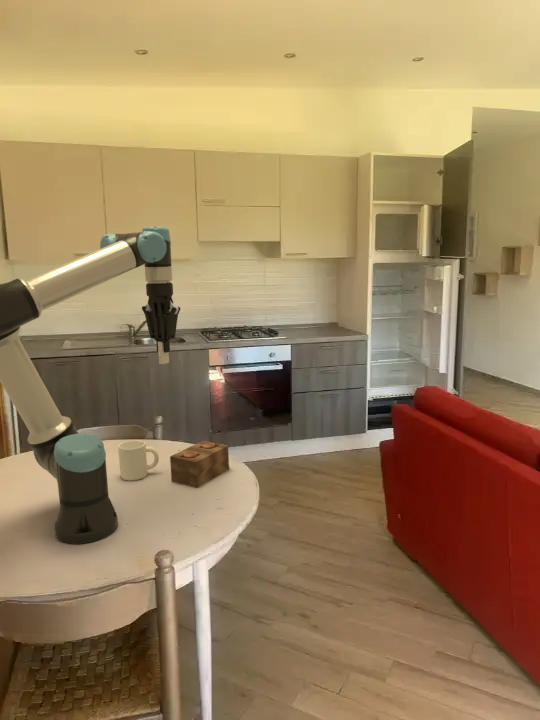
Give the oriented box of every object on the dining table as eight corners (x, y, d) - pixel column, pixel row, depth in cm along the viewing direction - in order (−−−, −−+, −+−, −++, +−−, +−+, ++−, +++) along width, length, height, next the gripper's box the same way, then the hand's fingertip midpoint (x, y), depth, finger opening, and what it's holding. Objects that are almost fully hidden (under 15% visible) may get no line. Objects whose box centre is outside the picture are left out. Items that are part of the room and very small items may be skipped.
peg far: (210, 470, 173) (209, 447, 171) (200, 468, 175) (199, 445, 173) (218, 466, 176) (217, 443, 175) (208, 464, 178) (207, 441, 177)
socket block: (197, 487, 162) (196, 462, 161) (171, 481, 168) (170, 456, 166) (229, 469, 176) (228, 445, 174) (204, 463, 181) (203, 440, 179)
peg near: (192, 480, 165) (191, 457, 164) (182, 478, 167) (180, 454, 166) (200, 476, 168) (199, 452, 167) (190, 473, 170) (189, 450, 169)
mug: (159, 468, 178) (157, 437, 176) (160, 478, 170) (158, 446, 168) (120, 472, 176) (118, 441, 174) (120, 482, 168) (117, 450, 166)
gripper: (185, 281, 157) (189, 362, 162) (151, 281, 164) (156, 359, 169) (167, 283, 151) (172, 367, 156) (133, 282, 158) (138, 363, 162)
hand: (164, 363), depth 162 cm, fingers closed
